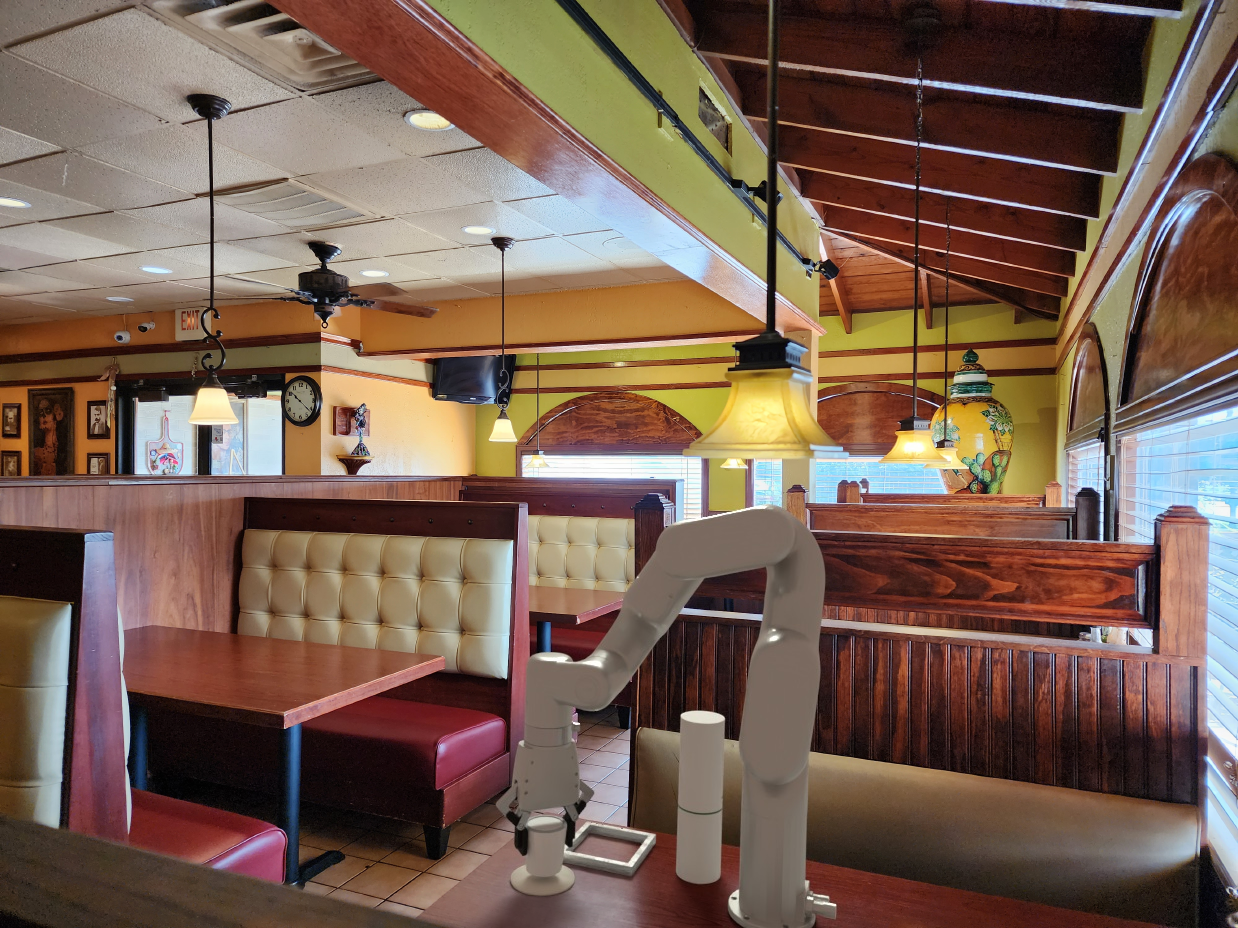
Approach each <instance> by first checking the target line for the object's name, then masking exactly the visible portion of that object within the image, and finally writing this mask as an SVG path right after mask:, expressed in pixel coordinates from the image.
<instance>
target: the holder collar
mask: <svg viewBox="0 0 1238 928" xmlns="http://www.w3.org/2000/svg"><path fill="white" fill-rule="evenodd" d="M596 823H597V822H592V823H591V821H585V823H584V824H583V825H582V826H581V827H580V828H579V829H578V830H577V831H575V839H573V847H570V848H569V847H567V846H566V844H565V846H564V855H563V863H565V864H568V865H575V866H577V867H583V868H589V869H593V870H598V871H603V872H608V873H613V874H618V875H621V876H627V877H633V876H634V874H635V873H636V871H637V870H638V868H640V866H641V864H642V863H643V861H644V860H645V859H646V857H647V856H648V854H649V853H650V852H651V850H652V849H653V847H654V846H655V845H656V843H657V834H656V833H650V832H647V831H646V832H645V831H640V830H635V829H630V828H624V827H619V826H613V825H607V824H603V825H602V823H598V824H596ZM621 828H623V829H621ZM589 834H591V835H597V836H604V837H609V838H615V839H617V840H618V839H619V840H623V841H630V842H634V843H638V844H639V843H640V844H641V845H640V846H639V848H638V849H637V851H636V852H635V853H634V855H632V857H631V858H630V860H629V861H628V862H624V861H619V860H616V859H615V860H614V859H609V858H604V857H601V856H594V855H590V854H584V853H581V852H580V853H579V852H574V851H575V849H577V848H578V846H579V845H580V844H581V843H582V842H583V841H584V840H585V839H586V837H588V835H589Z"/></svg>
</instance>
